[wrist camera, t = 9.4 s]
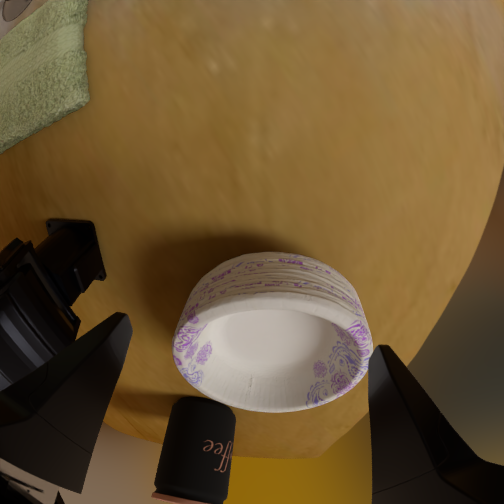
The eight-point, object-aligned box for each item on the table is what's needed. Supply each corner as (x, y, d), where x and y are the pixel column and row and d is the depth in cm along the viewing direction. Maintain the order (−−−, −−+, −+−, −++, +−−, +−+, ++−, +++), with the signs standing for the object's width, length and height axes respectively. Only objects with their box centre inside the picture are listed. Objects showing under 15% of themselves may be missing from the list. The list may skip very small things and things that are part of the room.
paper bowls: (167, 249, 23) (131, 313, 16) (350, 215, 20) (384, 278, 13) (221, 357, 30) (211, 416, 24) (352, 341, 28) (365, 402, 21)
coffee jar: (241, 422, 41) (232, 513, 26) (185, 418, 43) (168, 502, 27) (229, 396, 36) (215, 509, 21) (163, 391, 37) (137, 492, 22)
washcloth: (-14, 60, 12) (-33, 64, 9) (98, -18, 10) (76, -26, 7) (-6, 158, 18) (-25, 168, 16) (101, 112, 17) (77, 118, 14)
